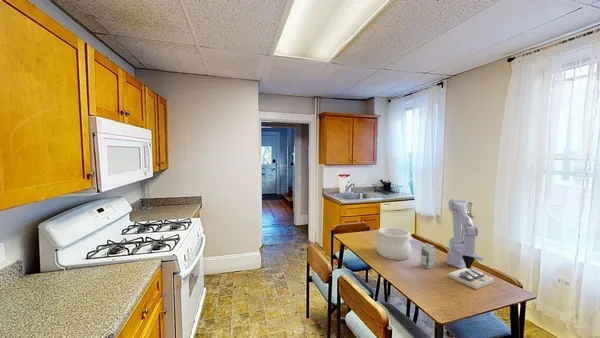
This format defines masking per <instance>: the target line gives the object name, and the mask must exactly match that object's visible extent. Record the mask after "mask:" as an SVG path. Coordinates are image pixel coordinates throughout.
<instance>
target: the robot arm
mask: <svg viewBox="0 0 600 338" xmlns="http://www.w3.org/2000/svg"><path fill="white" fill-rule="evenodd" d="M468 205H469V204H468V201H467V199H455V198H454V199H453V198H450V199H449V201H448V209H449V212H451V215H452V226H453V227H452V230H453V237H452V238H450V239H449V241H448V247H449V248H448V249H449V250H448V251H447V253H446V262H445V264H448V265H451V266H453V267H455V268H458V269H463V268H467V269H472V268H471V267H472V264H473V262H475V260H478V261H479V262H483V261H484V257H482V256H480V255H478V254H476V237H477V236H478V235H479V231H478V227H477V226H476V225H474V223H473V221H472V218H471V216H468V212H467V209H468Z"/></svg>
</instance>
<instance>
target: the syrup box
mask: <svg viewBox="0 0 600 338" xmlns="http://www.w3.org/2000/svg"><path fill="white" fill-rule="evenodd" d="M420 249H421V250H420V266H422V267H424V268H426V269H432V268H434V265H435V264H434V263H435V246H434V245H433V244H429V243H422V244H421V247H420Z"/></svg>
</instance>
